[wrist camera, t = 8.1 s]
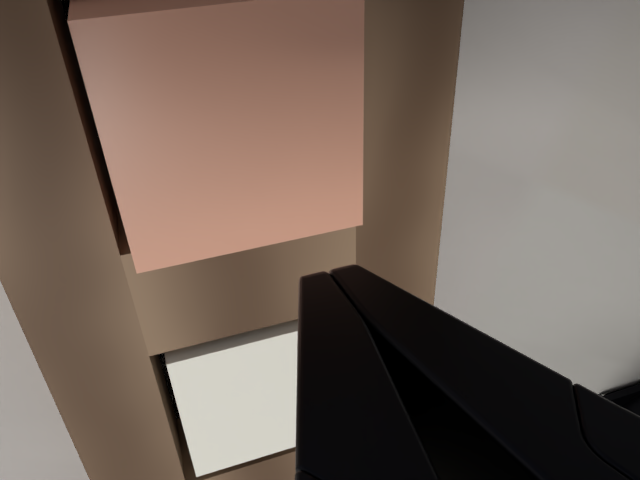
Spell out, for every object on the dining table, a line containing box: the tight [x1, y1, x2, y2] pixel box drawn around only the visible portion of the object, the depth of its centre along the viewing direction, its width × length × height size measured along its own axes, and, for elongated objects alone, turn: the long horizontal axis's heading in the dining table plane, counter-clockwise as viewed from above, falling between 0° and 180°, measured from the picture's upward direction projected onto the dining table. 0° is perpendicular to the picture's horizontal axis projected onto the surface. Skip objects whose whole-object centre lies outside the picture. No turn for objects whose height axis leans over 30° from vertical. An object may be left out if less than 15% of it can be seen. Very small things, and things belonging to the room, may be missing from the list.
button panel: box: [0, 0, 464, 480], centre depth 20 cm, size 12×32×3 cm, turn 2°
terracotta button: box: [67, 0, 365, 274], centre depth 13 cm, size 6×6×3 cm
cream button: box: [164, 319, 298, 477], centre depth 20 cm, size 6×6×3 cm
